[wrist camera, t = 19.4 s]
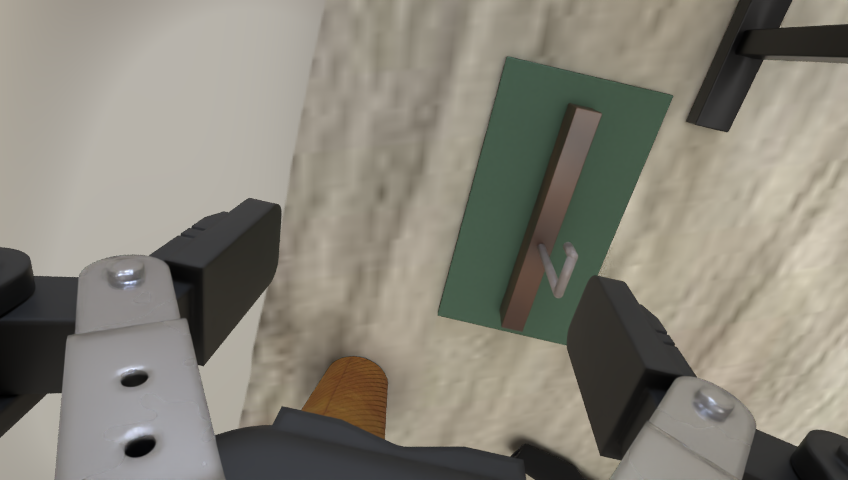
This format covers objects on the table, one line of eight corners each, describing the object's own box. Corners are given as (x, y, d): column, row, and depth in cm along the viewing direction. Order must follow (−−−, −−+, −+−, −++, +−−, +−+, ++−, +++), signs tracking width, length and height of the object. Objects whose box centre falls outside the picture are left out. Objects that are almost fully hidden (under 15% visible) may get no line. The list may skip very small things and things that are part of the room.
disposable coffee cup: (386, 430, 47) (362, 546, 36) (299, 400, 47) (248, 509, 36) (417, 362, 43) (401, 469, 32) (323, 328, 43) (274, 425, 32)
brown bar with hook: (568, 102, 33) (607, 124, 23) (592, 108, 33) (641, 132, 23) (499, 310, 40) (508, 388, 31) (519, 315, 40) (534, 394, 31)
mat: (506, 56, 32) (507, 56, 32) (670, 94, 32) (673, 95, 32) (437, 312, 41) (437, 315, 41) (566, 341, 41) (568, 345, 41)
